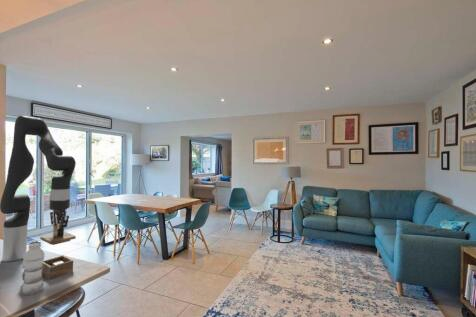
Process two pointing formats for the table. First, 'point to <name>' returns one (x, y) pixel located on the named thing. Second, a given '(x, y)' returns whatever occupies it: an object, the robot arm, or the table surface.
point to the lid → (55, 239)
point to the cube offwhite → (57, 263)
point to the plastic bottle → (33, 269)
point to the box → (57, 267)
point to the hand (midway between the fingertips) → (58, 235)
